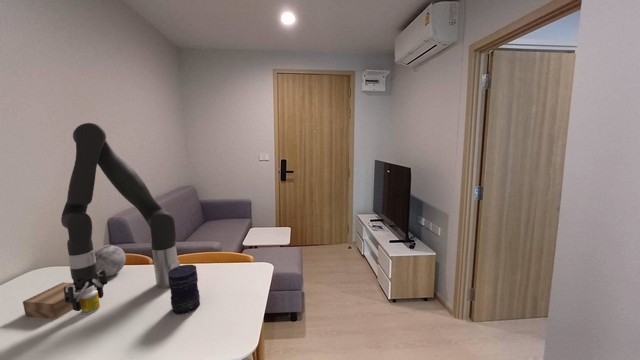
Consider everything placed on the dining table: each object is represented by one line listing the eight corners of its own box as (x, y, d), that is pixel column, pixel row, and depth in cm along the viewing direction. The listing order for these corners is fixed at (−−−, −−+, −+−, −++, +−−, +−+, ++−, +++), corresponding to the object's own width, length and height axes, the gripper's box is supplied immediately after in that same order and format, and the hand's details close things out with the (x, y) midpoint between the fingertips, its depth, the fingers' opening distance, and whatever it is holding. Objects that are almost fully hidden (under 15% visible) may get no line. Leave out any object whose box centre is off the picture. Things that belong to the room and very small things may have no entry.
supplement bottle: (89, 315, 103) (85, 291, 101) (78, 314, 104) (74, 290, 103) (103, 306, 108) (100, 283, 107) (92, 305, 109) (88, 282, 108)
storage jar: (206, 301, 109) (202, 266, 107) (186, 317, 100) (182, 278, 98) (186, 298, 112) (182, 263, 110) (165, 312, 103) (161, 274, 101)
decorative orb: (109, 267, 143) (105, 240, 141) (134, 268, 141) (131, 240, 139) (81, 282, 128) (76, 251, 126) (109, 283, 126) (104, 252, 124)
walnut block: (93, 297, 115) (91, 284, 114) (56, 318, 101) (54, 303, 101) (65, 295, 117) (62, 282, 117) (25, 316, 104) (22, 301, 103)
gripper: (71, 273, 96) (79, 316, 98) (109, 256, 110) (114, 294, 112) (53, 271, 97) (61, 314, 99) (92, 255, 111) (98, 293, 113)
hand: (89, 303), depth 106 cm, fingers open, 8 cm apart
